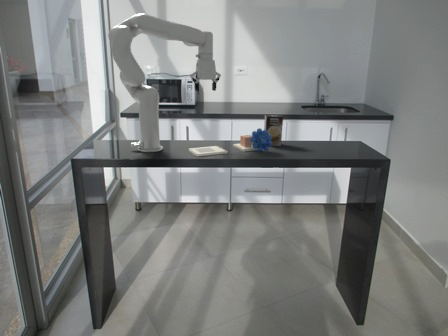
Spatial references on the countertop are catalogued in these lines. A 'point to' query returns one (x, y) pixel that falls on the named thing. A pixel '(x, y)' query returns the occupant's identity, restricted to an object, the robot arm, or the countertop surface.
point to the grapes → (261, 140)
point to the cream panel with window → (208, 151)
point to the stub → (245, 144)
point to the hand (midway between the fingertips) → (205, 90)
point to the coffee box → (274, 128)
